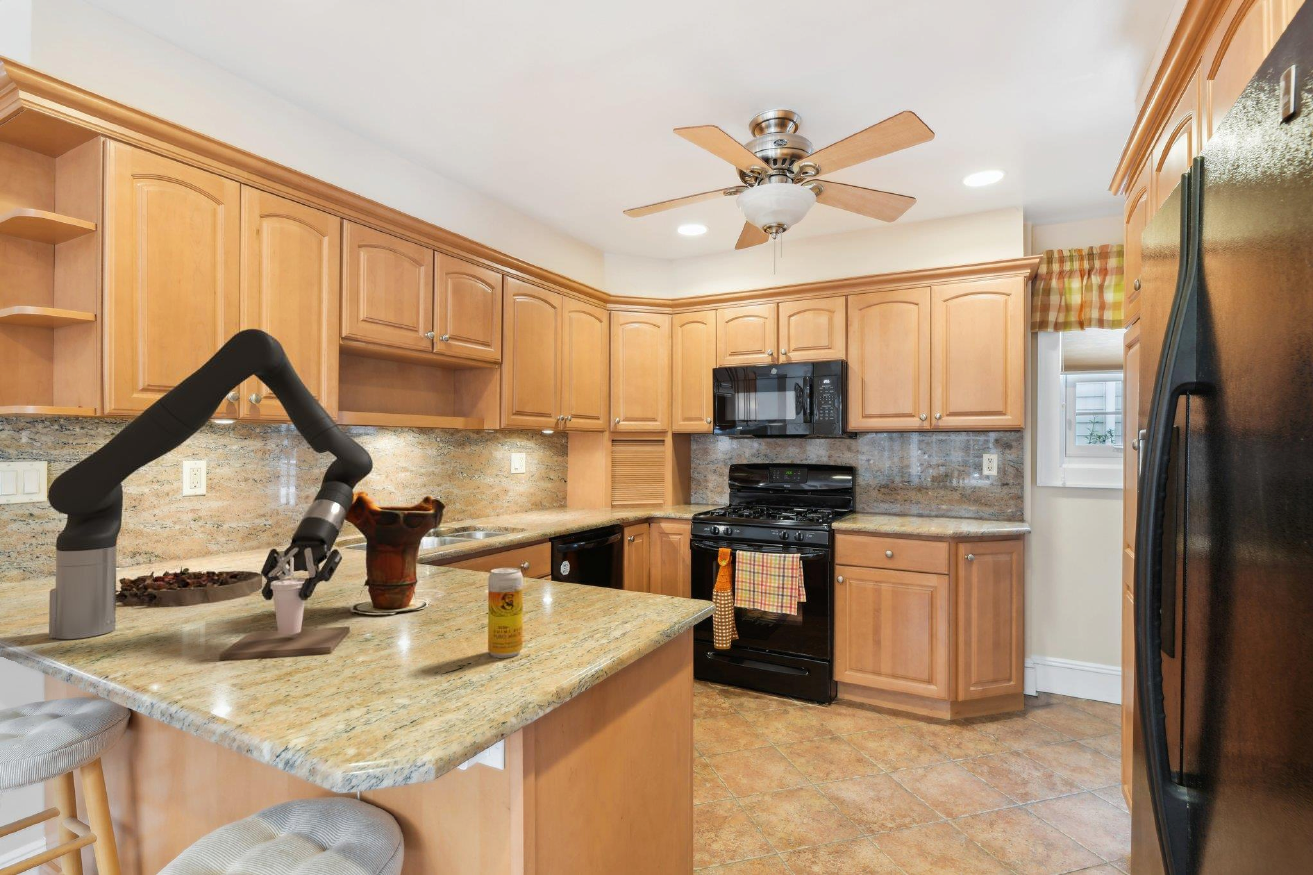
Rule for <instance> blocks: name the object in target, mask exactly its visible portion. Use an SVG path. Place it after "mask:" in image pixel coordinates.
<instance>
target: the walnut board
mask: <svg viewBox="0 0 1313 875" xmlns="http://www.w3.org/2000/svg"><path fill="white" fill-rule="evenodd" d="M350 628H351V627H350V626H334V627H333V626H332V627H317V628H301V631H300V632H299V633H296V634H291V635H279V634H278V629H277V630H263V631H262V630H261V631H250V632H248V633H247V634H245V636H243V637H242V638H240V639H239V640H237V641H236V642H234V643H233V644H231V645H230V646H228V647H226V648H225V649H224V650H223V651H221V652H220V653H219V654H218V655H219V661H232V660H233V661H234V660H247V659H248V660H249V659H264V658H265V659H266V658H277V657H280V658H281V657H293V656H296V657H297V656H309V655H310V656H311V655H325V654H326V655H327V654H332V653H333V651H335V649H336V648H337V647H338V646H339V645H340V644H341V643H342V642H343V640H344V639H345V638H346V637H347V636H348V635H349V634H350V633H351V629H350Z"/></svg>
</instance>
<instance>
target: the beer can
mask: <svg viewBox="0 0 1313 875" xmlns="http://www.w3.org/2000/svg"><path fill="white" fill-rule="evenodd" d="M487 578H488V580H487V582H488V585H487V586H488V590H487V591H488V594H487V595H488V596H487V597H488V598H487V599H488V600H487V601H488V602H487V606H488V607H487V608H488V609H487V610H488V612H487V621H488V623H487V627H488V628H487V633H488V634H487V648H488V649H487V652H489V654H490V655H491V657H494V658H499V659H504V658H505V659H506V658H507V659H508V658H512V657H516V656H518V655H519V654H520V653H521V651H522V650H523V648H524V647H523V646H524V645H523V641H524V640H523V638H524V637H523V636H524V635H523V633H524V632H523V630H524V629H523V627H524V626H523V621H524V620H523V619H524V618H523V616H524V615H523V613H524V611H523V610H524V609H523V608H524V606H523V604H524V600H523V599H524V596H523V595H524V592H523V591H524V590H523V589H524V585H523V581H524V580H523V578H524V577H523V573H522V572H521V568H518V567H500V568H493V569H491V570H490V573H489V575H488V577H487Z"/></svg>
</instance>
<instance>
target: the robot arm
mask: <svg viewBox="0 0 1313 875" xmlns="http://www.w3.org/2000/svg"><path fill="white" fill-rule="evenodd" d="M252 376H255V377H256V378H257V379H258V380H259V381H261V382H262V383H263V384H264V385H265V386H266V387H267V388H268V389H269V390H270V391H271V393H272V394H274V396H275V397H276V399H277V400H278V401H279V403H280V404H281V406H282V407H283V409H284V411H285V412H286V414H287V416H288V418H289V419H290V421H291V423H292V425H293V426H294V428H295V429H296V430H297V432H299V434H300V435H301V436H302V438H303V439H304V440H305V442H306V443H307V444H308V445H309V446H310V447H311V448H312V450H313V451H314V452H315V453H317V454H324V453H327V452H328V453H330V454H331V455H333V456H334V457H335V460H334V461H332V462H331V463H330V465H329V466H328V467H327V469H326V471H325V473H324V475H323V478H322V482H321V485H320V489H319V490H318V491H317V494H316V495H315V497H314V498H313V501H312V502H311V505H309V507H308V509H307V510H306V511H305V513H304V515H303V517H302V519H301V520H300V522H299V525H298V526H297V528H296V530H295V532H294V533H293V536H292V538H291V542H290V545H289V546H288V547H286V549H285V550H278V549H276V548H271V549H270V551H269V552H268V554H267V557H266V560H265V561H264V564H263V566H262V568H261V571H260V574H262V575H263V579H265V580H266V581H265V584H264V586H262V588H261V595H262V597H263V598H264V599H265V601H271V600H272V598H273V590H272V589H271V588H270V587H271V582H273V581H276V580H281V579H286V577H290V558H291V557H294V573H295V572H301V571H302V572H308V577H305V578H306V580H305V582H304V584H303V586H302V588H301V590H300V592H299V597H300V598H301V600H303V601H305V602H306V601H308V599H309V598H311V597H312V595H313V593H314V591H315V589H316V587H317V585H318V584H320V582H323V581H324V582H325V583H326V582H329V581H330V580H331V579H332V577H333V576H334V573H335V572H336V570H337V568H338V567H339V565H340V563H341V562H342V560H343V557H342V555H341V553H340V552H339V550H338V549H336V548H334V549H333V547H334V545H335V543H336V541H337V538H338V536H339V534H340V532H341V530H342V528H343V526H344V523H345V521H346V520H345V517H346V515H347V513H348V511H349V508H350V506H351V504H352V502H353V498H354V493H355V492H354V488H355V487H356V486H357V484H358V483H360V482H361V481H362V480H364V479H365V478H366V477H367V476H368V475H369V474H370V473H371V472H372V471H373V467H374V465H373V459H372V457H371V455H370V454H369V452H368V451H367V450H366V449H365V448H364V447H363V446H362V445H360V444H359V443H358V442H357V441H355V439H353V438H352V437H351V436H349V435H348V434H346V433H345V432H343V431H342V429H340V426H338V424H337V423H336V422H335V421H334V420H333V418H332V417H331V416H330V415H329V413H328V412H327V411H326V409H325V408H324V406H323V405H321V404H320V402H319V401H318V400H317V399H316V398H315V396H314V395H313V394H312V393H311V392H310V390H308V387H306V386H305V384H304V382H303V381H302V379H301V378H300V377H299V375H298V374H297V372H296V371H295V369H294V366H293V365H292V363H291V361H290V359H289V357H288V356H287V354H286V352H285V350H284V348H283V346H282V344H281V343H280V342H279V340H277V338H275V337H273V336H272V335H270V334H269V333H268V332H266V331H264V330H262V329H257V328H247V329H244V330H241V331H239V332H237V333H235V334H234V335H233V336H232V337H230V338H229V339H228V340H227V341H226V342H225V343H224V344H223V345H222V346H221V348H219V349H218V350H217V352H215V354H214V355H212V356H211V357H210V358H209V359H208V360H207V361H206V362H205V363H204V364H203V365H202V366H201V367H200V368H198V369H197V370H196V371H194V372H193V373H192V374H191V375H188V376H187V377H186V378H185V379H183V380H182V381H181V382H179V384H177V385H176V386H174V387H173V388H171V390H170V391H168V392H167V393H165V394H164V395H162V396H161V397H160V398H159V399H158V400H156V401H155V402H154V403H152V404H151V405H150V406H149V407H148V408H146V409H145V410H144V411H143V412H142V413H140V414H139V415H138V416H137V417H135V419H133V421H131V422H130V423H129V424H127V425H126V426H125V427H124V428H123V429H122V430H120V431H118V433H116V434H115V435H114V437H112V438H111V439H110V440H109V441H108V442H106V443H105V444H104V445H103V446H102V447H100V448H99V449H97V450H95V452H92V454H90V455H88V456H87V457H85V458H84V459H82V460H81V461H79V462H78V463H76V464H74V465H73V466H71V467H70V468H68V469H66V470H65V471H64V472H61V474H60V475H57V477H55V479H54V480H53V481H52V482H51V485H50V487H49V489H48V491H47V492H48V494H47V498H48V503H49V504H50V506H51V508H52V509H53V510H54V511H56V512H58V513H60V514H63V515H67V518H66V524H65V525H64V528H63V529H62V530H61V532H60V533H59V534H58V535H57V537H56V542H55V543H56V545H55V546H56V547H55V587H53V588H51V589H50V591H49V608H48V610H49V611H48V614H49V616H48V638H49V639H58V640H74V639H84V638H90V637H96V636H99V635H104V634H107V633H111V632H113V631H115V630H116V620H117V618H116V610H117V609H116V608H117V603H116V594H117V593H116V590H117V552H118V551H117V544H118V543H117V542H118V541H117V540H118V536H119V534H120V532H121V529H122V521H123V520H122V519H123V505H124V504H123V503H124V491H123V486H122V482H123V481H125V480H126V479H127V478H129V476H130V475H132V474H133V473H135V472H136V471H137V470H139V469H142V467H144V466H146V465H148V464H150V463H151V462H154V461H155V460H158V459H159V458H161V457H163V456H165V455H166V454H168V453H169V452H172V451H173V450H174V449H177V448H178V447H180V446H181V445H182V444H184V443H185V442H186V441H187V440H189V439H190V438H191V437H192V436H193V435H194V434H196V433H197V432H199V430H201V429H202V428H203V427H204V426H205V425H206V424H207V423H208V422H209V421H210V419H211V418H212V417H213V416H214V414H215V413H216V411H217V410H218V408H219V407H220V405H221V404H222V402H223V401H224V400H225V398H226V397H227V396H228V395H229V393H231V392H232V391H233V390H234V389H236V388H237V387H238V386H239V385H241V384H242V383H243V382H245V381H246V380H247V379H250V378H251V377H252ZM324 561H325V562H324ZM323 562H324V563H323ZM322 563H323V565H322V566H321V568H320V564H322ZM287 566H288V568H287Z"/></svg>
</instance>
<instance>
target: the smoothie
mask: <svg viewBox="0 0 1313 875" xmlns="http://www.w3.org/2000/svg"><path fill="white" fill-rule="evenodd" d="M289 568H290V576H289V578H284V579H281V580H276V581H273V582H271V587H270V588H271V589H272V590H273V597H272V598H273V603H274V610H275V617H276V618H275V619H276V625H277V630H278V634H279V635H291V634H296V633H299V632H300V631H301V629H302V624H303V618H304V611H305V602H306V601H303V600H301V598H300V597H299V592H300V590H301V588H302V586H303V584H304V582H305V580H306V578H307V577H294V573H295V572H294V557H291V558H290V567H289Z"/></svg>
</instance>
